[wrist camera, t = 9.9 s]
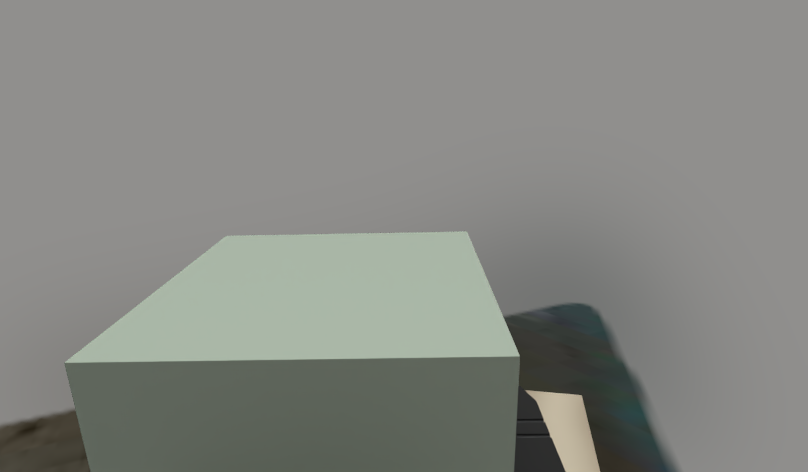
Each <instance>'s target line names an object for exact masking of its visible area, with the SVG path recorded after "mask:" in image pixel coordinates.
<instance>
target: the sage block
mask: <svg viewBox="0 0 808 472" xmlns="http://www.w3.org/2000/svg"><path fill="white" fill-rule="evenodd" d="M64 364H65V367H66V372H67V376H68V380H69V384H70V388H71V393H72V397H73V401H74V405H75V409H76V413H77V417H78V421H79V426H80V430H81V434H82V438H83V442H84V446H85V450H86V455H87V459H88V463H89V467H90V471H91V472H514V462H515V442H516V423H517V403H518V383H519V364H520V356H519V353H518V351H517V348H516V346H515V344H514V341H513V339H512V337H511V334H510V332H509V330H508V327H507V325H506V323H505V320H504V318H503V315H502V313H501V311H500V309H499V306H498V304H497V302H496V299H495V297H494V294H493V292H492V290H491V287H490V285H489V282H488V280H487V278H486V275H485V273H484V271H483V268H482V266H481V264H480V261H479V259H478V257H477V254H476V252H475V249H474V247H473V245H472V243H471V240H470V238H469V235H468V233H467V232H424V233H423V232H421V233H370V234H369V233H366V234H309V235H253V236H252V235H251V236H226V237H225V238H223V239H222V240H221V241H219V242H218V243H217V244H216V245H214V246H213V247H212V248H210V249H209V250H208V251H207V252H205V253H204V254H203V255H201V256H200V257H199V258H198V259H196V260H195V261H194V262H192V263H191V264H190V265H189V266H187V267H186V268H185V269H183V270H182V271H181V272H180V273H178V274H177V275H176V276H175V277H173V278H172V279H171V280H169V281H168V282H167V283H166V284H165V285H163V286H162V287H161V288H159V289H158V290H157V291H155V292H154V293H153V294H152V295H150V296H149V297H148V298H146V299H145V300H144V301H143V302H141V303H140V304H139V305H138V306H136V307H135V308H134V309H133V310H131V311H130V312H129V313H127V314H126V315H125V316H124V317H122V318H121V319H120V320H119V321H117V322H116V323H115V324H113V325H112V326H111V327H109V328H108V329H107V330H106V331H104V332H103V333H102V334H101V335H99V336H98V337H97V338H95V339H94V340H93V341H92V342H90V343H89V344H88V345H86V346H85V347H84V348H83V349H81V350H80V351H79V352H78V353H76V354H75V355H74V356H72V357H71V358H70V359H69V360H67V361H66V362H65V363H64Z"/></svg>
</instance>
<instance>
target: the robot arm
mask: <svg viewBox="0 0 808 472" xmlns="http://www.w3.org/2000/svg"><path fill="white" fill-rule="evenodd" d="M514 472H566V471H565V469H564V466H563V464H562V462H561V459H560V457H559V454H558V452H557V450H556V447H555V445H554V442H553V440H552V438H551V437H550V433H549V430H548V428H547V425H546V423H545V422H544V418H543V416H542V413H541V411H540V409H539V406H538V404H537V401H536V400H535V399H534V398H533V397H531V396H530V395H529V394H528V393H527V392H526V391H525V390H524V389H523V388H522V387H521V386H518V403H517V423H516V442H515V462H514Z"/></svg>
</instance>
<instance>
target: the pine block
mask: <svg viewBox="0 0 808 472" xmlns="http://www.w3.org/2000/svg"><path fill="white" fill-rule="evenodd" d="M525 391H526V392H527V393H528V394H529V395H530V396H531V397H533V398H534V399H535V400H536V401H537V404H538V406H539V409H540V411H541V413H542V416H543V418H544V422H545V423H546V425H547V428H548V430H549V433H550V437H551V438H552V440H553V442H554V445H555V447H556V450H557V452H558V454H559V457H560V459H561V462H562V464H563V466H564V469H565V471H566V472H600V469H599V465H598V461H597V457H596V453H595V449H594V445H593V441H592V436H591V432H590V428H589V424H588V420H587V416H586V412H585V408H584V403H583V399H582V395H572V394H561V393H550V392H538V391H527V390H525Z"/></svg>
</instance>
